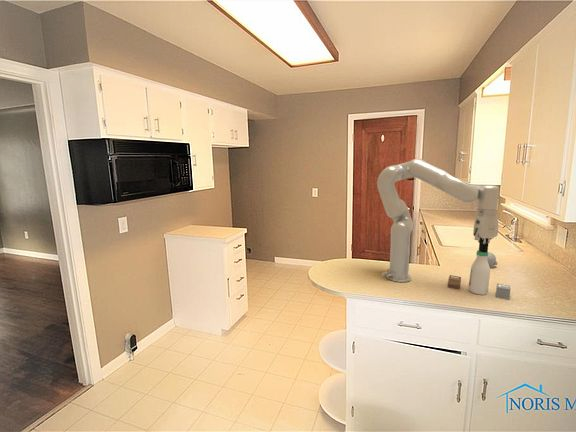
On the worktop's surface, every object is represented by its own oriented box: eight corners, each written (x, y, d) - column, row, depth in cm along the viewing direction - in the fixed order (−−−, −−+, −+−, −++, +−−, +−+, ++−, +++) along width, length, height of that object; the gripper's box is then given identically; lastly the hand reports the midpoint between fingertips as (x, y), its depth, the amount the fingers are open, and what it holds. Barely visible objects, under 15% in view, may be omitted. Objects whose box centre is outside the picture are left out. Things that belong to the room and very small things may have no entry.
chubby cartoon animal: (474, 270, 177) (471, 258, 174) (488, 260, 179) (485, 248, 177) (485, 274, 170) (482, 261, 168) (500, 264, 173) (497, 251, 170)
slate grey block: (509, 300, 134) (510, 289, 133) (495, 297, 137) (496, 286, 136) (508, 295, 138) (510, 285, 137) (495, 293, 141) (497, 283, 140)
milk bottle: (491, 294, 140) (496, 253, 136) (478, 296, 138) (483, 254, 134) (476, 287, 147) (481, 248, 143) (464, 289, 145) (468, 249, 141)
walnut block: (459, 290, 145) (460, 280, 144) (447, 287, 148) (448, 277, 147) (460, 286, 149) (461, 276, 148) (449, 284, 152) (449, 274, 151)
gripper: (481, 215, 130) (478, 255, 133) (506, 212, 134) (502, 251, 137) (466, 212, 137) (463, 251, 140) (491, 210, 141) (487, 247, 144)
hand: (483, 251), depth 139 cm, fingers closed
